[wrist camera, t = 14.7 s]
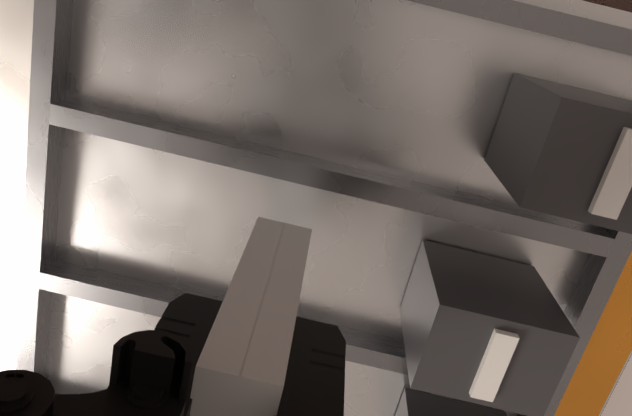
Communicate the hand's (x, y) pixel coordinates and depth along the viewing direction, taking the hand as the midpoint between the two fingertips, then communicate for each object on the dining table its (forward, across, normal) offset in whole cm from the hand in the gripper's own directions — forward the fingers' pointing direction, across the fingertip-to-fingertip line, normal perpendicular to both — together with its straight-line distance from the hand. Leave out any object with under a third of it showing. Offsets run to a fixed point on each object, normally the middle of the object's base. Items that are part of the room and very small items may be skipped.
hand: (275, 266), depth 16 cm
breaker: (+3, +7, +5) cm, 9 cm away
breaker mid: (+2, +6, 0) cm, 6 cm away
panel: (+4, +1, 0) cm, 4 cm away
